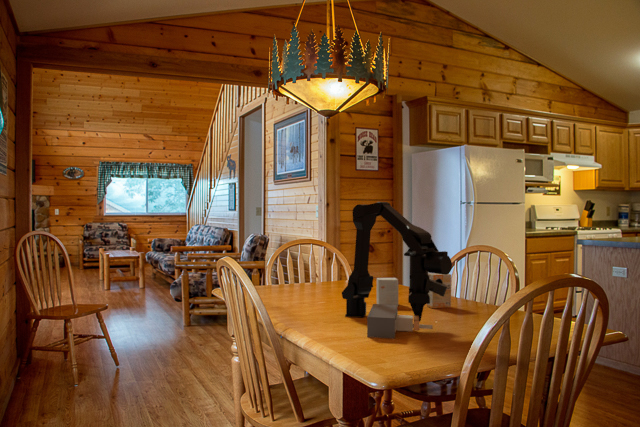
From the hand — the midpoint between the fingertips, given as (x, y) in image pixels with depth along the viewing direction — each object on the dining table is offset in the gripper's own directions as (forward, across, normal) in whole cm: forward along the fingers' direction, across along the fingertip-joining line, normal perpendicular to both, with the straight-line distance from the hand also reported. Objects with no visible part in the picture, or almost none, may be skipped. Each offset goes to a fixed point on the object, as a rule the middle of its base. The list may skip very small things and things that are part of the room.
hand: (418, 321), depth 149 cm
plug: (+3, 0, +1) cm, 3 cm away
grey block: (+3, 0, +11) cm, 11 cm away
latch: (+1, -5, +1) cm, 5 cm away
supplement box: (+3, +40, -8) cm, 41 cm away
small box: (+3, +40, +12) cm, 42 cm away
